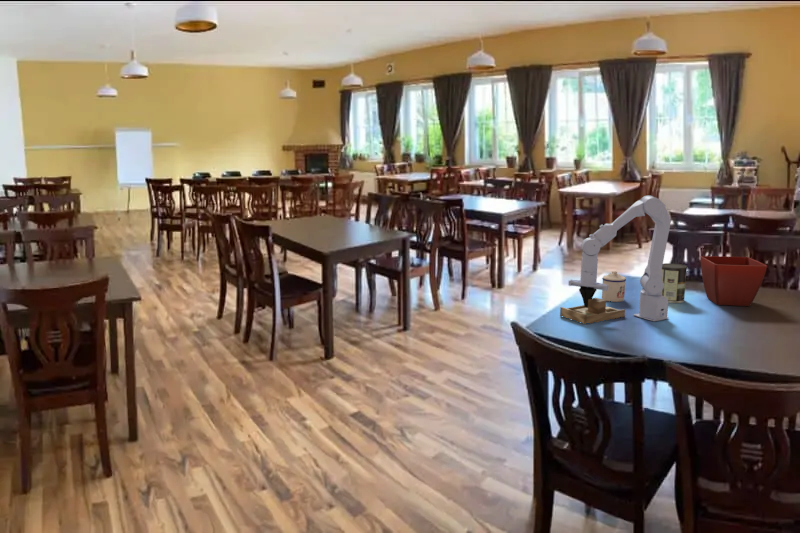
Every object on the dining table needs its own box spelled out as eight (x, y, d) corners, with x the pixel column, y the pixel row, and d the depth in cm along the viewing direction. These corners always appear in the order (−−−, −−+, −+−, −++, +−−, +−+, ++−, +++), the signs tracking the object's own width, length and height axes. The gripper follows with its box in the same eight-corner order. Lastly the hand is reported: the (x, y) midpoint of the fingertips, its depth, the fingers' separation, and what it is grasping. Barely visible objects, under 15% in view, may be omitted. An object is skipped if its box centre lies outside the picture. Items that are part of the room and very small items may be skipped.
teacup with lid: (620, 303, 275) (622, 274, 272) (598, 300, 280) (599, 271, 277) (629, 297, 285) (631, 269, 282) (607, 294, 290) (609, 266, 287)
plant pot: (744, 296, 285) (748, 256, 282) (763, 308, 267) (768, 265, 263) (696, 295, 287) (699, 255, 284) (711, 307, 268) (715, 264, 265)
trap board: (624, 316, 256) (625, 307, 255) (584, 324, 246) (585, 315, 245) (599, 309, 266) (599, 300, 265) (560, 316, 256) (560, 307, 255)
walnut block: (605, 312, 254) (606, 300, 253) (597, 314, 252) (598, 302, 251) (594, 309, 258) (595, 297, 257) (587, 311, 255) (588, 299, 254)
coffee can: (678, 296, 285) (681, 263, 282) (688, 303, 275) (691, 268, 272) (653, 296, 285) (655, 263, 283) (662, 303, 275) (664, 268, 272)
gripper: (612, 271, 254) (610, 307, 256) (574, 266, 262) (572, 301, 265) (605, 274, 248) (602, 311, 251) (566, 269, 257) (565, 305, 259)
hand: (586, 307), depth 257 cm, fingers closed
